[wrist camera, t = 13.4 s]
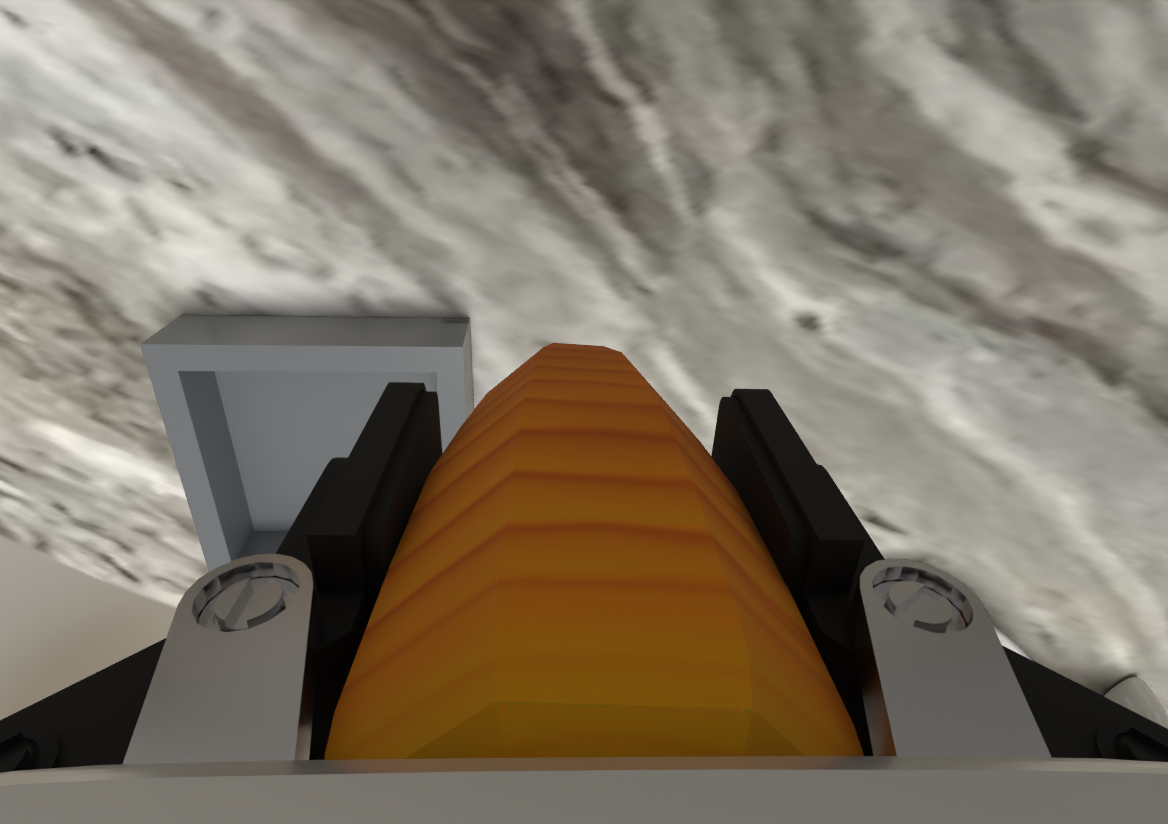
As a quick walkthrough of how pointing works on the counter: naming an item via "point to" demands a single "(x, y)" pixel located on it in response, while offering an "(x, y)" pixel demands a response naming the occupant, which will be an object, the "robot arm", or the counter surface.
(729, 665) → the carrot
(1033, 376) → the counter surface
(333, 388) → the tray
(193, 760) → the robot arm
